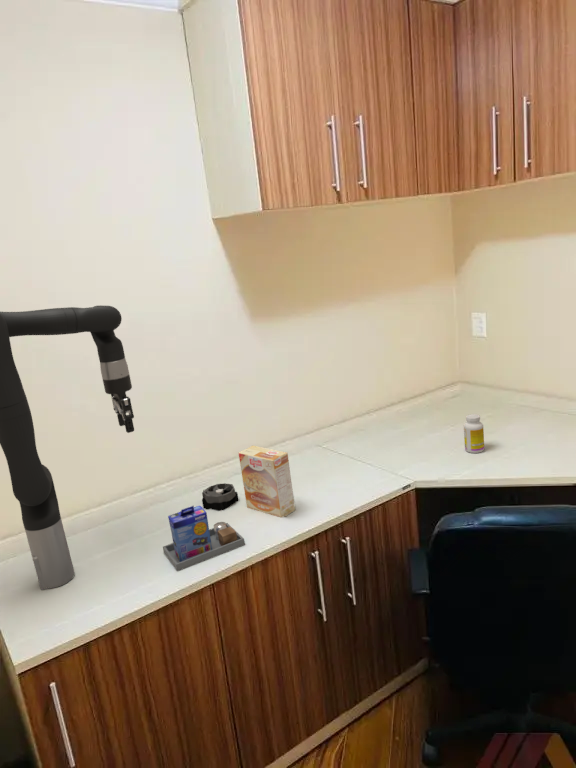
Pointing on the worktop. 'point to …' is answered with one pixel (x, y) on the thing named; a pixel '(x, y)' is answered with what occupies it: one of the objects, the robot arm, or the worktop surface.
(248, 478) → the coffeecake box
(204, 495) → the cpu cooler
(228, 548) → the parts tray
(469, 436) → the supplement bottle
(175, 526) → the ink cartridge box
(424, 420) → the worktop surface
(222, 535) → the walnut block part
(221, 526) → the metal ball part
